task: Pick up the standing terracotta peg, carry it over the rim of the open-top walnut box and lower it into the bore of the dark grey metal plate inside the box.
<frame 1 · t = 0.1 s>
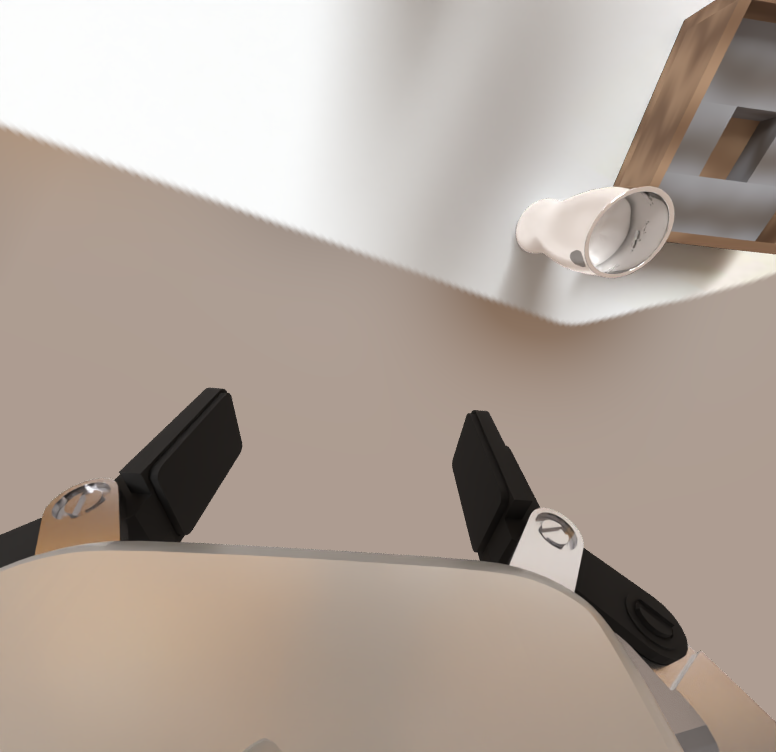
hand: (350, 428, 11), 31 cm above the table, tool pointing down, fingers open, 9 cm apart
bore box: (708, 152, 31), on the table
beer glass: (539, 226, 35), on the table
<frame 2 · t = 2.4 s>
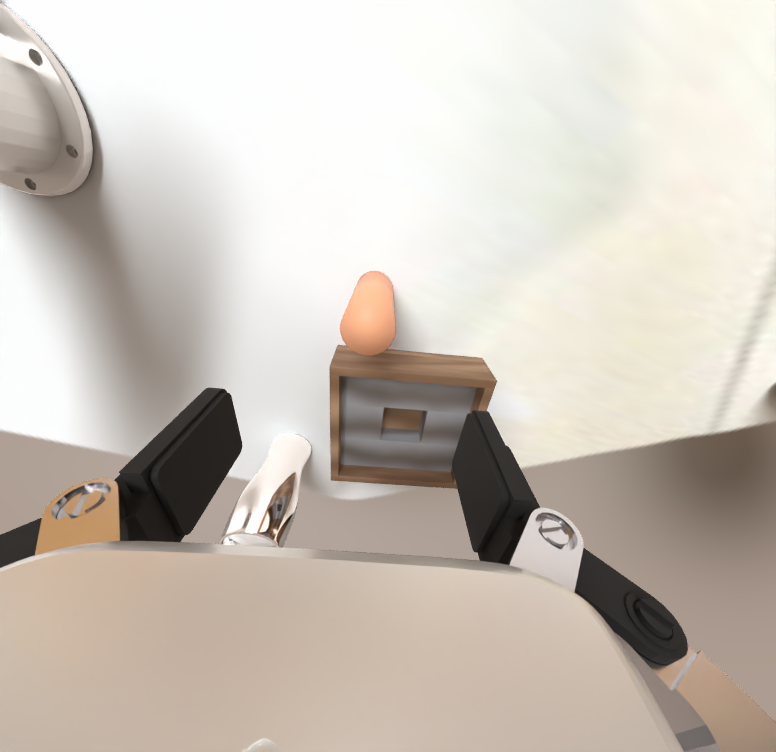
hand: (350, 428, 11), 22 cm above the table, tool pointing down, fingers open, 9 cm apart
bore box: (401, 409, 39), on the table
beer glass: (292, 446, 43), on the table
peg: (374, 290, 30), on the table
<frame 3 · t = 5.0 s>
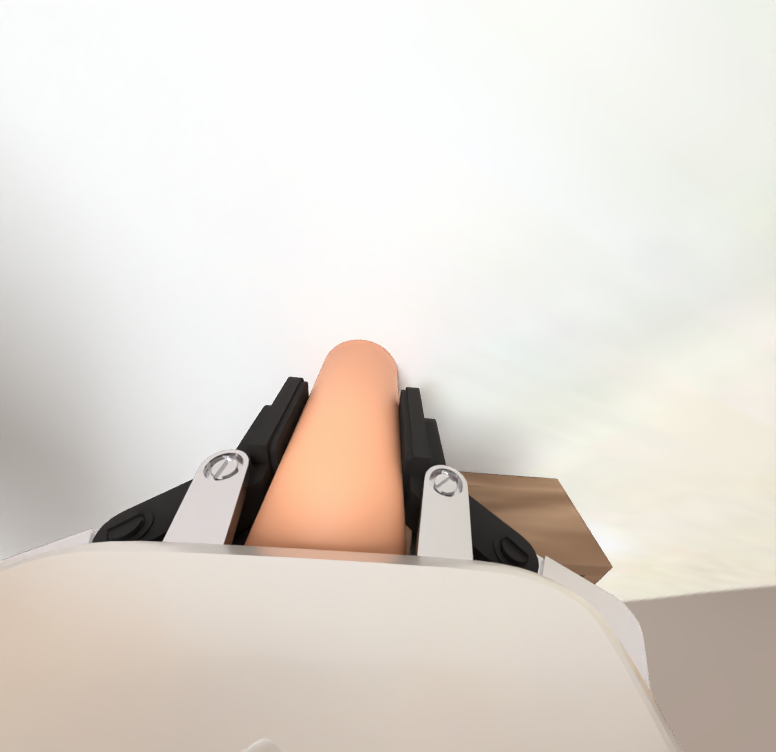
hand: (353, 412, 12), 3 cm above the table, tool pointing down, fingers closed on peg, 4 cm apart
bore box: (410, 542, 23), on the table
peg: (360, 374, 15), on the table, touching gripper
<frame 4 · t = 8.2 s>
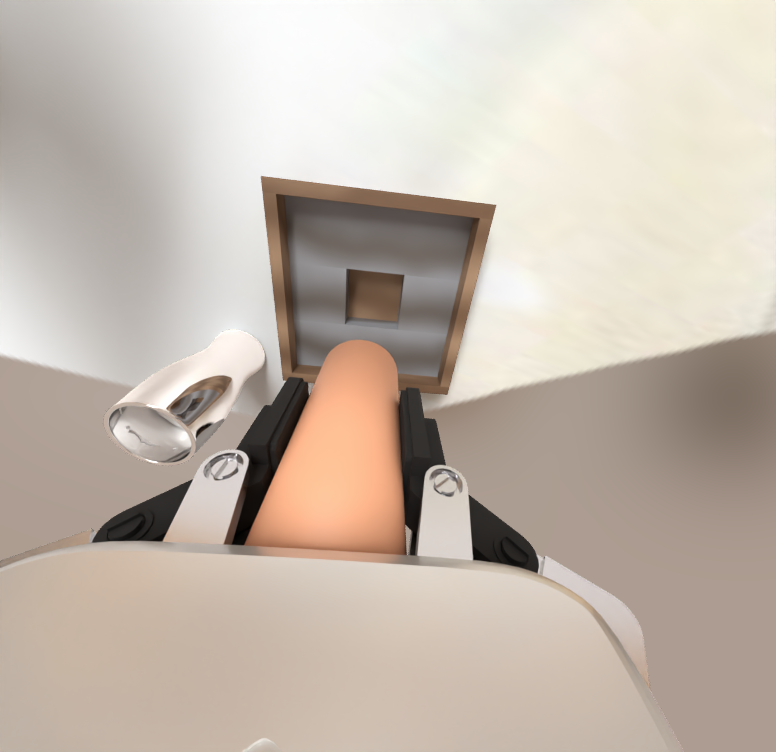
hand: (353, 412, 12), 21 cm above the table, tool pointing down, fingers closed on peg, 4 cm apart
bore box: (374, 292, 30), on the table
beer glass: (241, 351, 34), on the table
peg: (360, 374, 15), point 18 cm above the table, touching gripper
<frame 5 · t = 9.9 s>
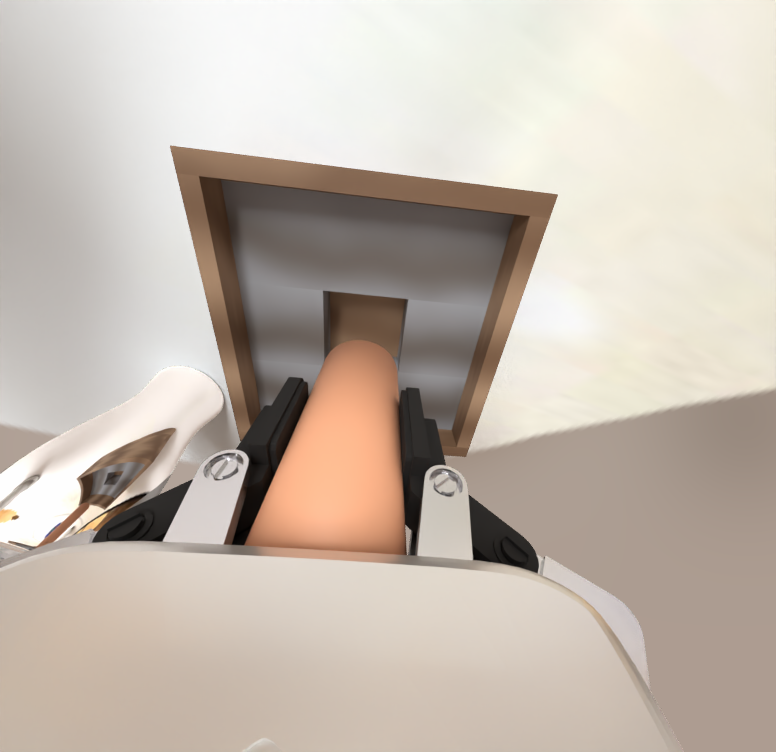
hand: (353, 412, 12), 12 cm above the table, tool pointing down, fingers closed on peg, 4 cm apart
bore box: (366, 317, 22), on the table
beer glass: (192, 392, 26), on the table
peg: (360, 374, 15), point 9 cm above the table, touching gripper
when the fingers open (5 cm above the table, at t = 11.5 s): peg stays where it is, resting on bore box.
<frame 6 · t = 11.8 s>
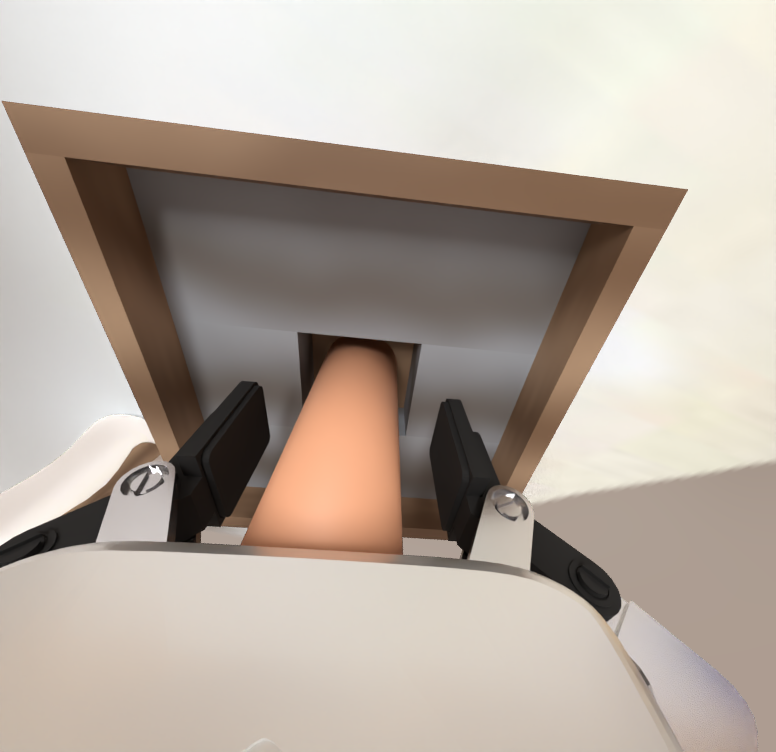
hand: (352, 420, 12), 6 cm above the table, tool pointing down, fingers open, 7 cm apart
bore box: (363, 357, 17), on the table
beer glass: (142, 443, 21), on the table
peg: (361, 364, 16), point 1 cm above the table, touching bore box
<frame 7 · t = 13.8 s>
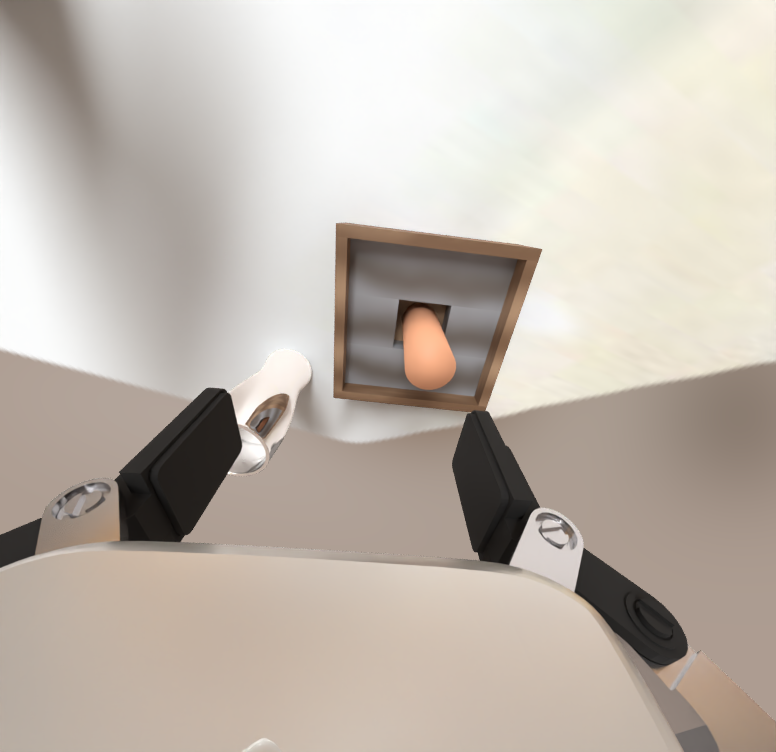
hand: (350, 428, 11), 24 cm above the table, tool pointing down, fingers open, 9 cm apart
bore box: (418, 317, 33), on the table
beer glass: (289, 368, 37), on the table
peg: (419, 320, 32), point 1 cm above the table, touching bore box
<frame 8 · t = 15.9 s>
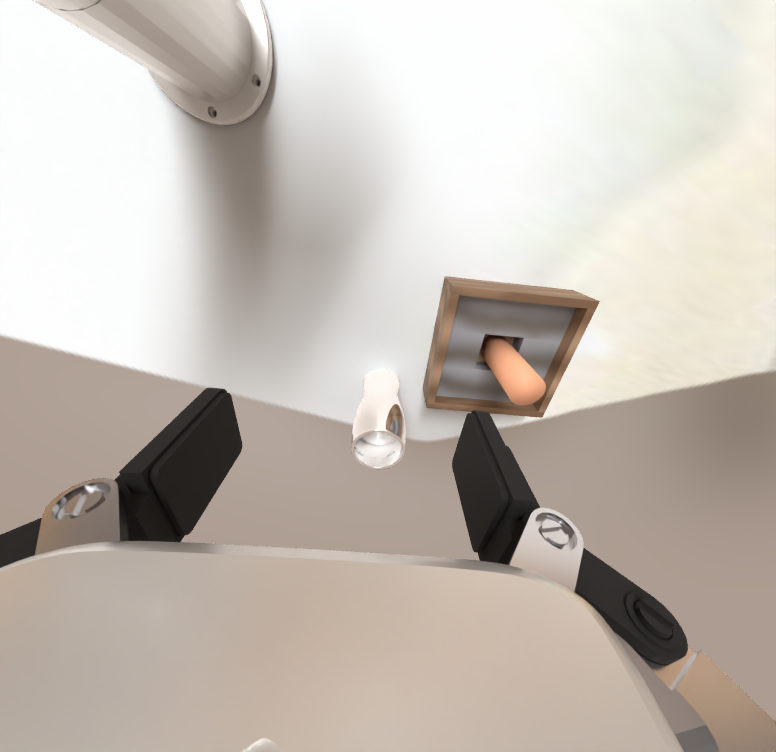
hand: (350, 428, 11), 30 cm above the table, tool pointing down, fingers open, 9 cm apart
bore box: (490, 343, 42), on the table
beer glass: (381, 383, 46), on the table
peg: (492, 346, 41), point 1 cm above the table, touching bore box
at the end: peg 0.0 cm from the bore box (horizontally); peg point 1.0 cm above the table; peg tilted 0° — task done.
